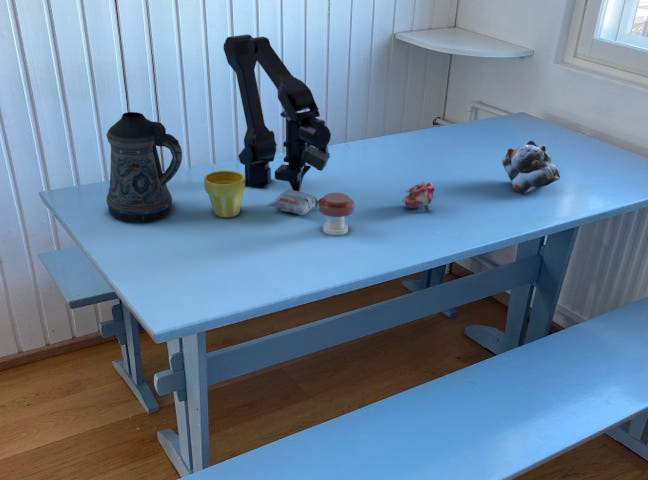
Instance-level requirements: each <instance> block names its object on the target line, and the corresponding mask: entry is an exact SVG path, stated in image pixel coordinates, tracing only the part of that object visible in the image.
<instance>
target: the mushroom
mask: <svg viewBox="0 0 648 480" xmlns="http://www.w3.org/2000/svg"><path fill="white" fill-rule="evenodd" d="M318 200H319V201H318V205H317V209H318V212H319V213H320V214H322V215H323V216H326V222H324V223H323V225H322V231H323V233H325V234H327V235H329V236H343V235H346V234H347V233H348V232H349V225H348V223H346V222H345V217H348V216H350V215H353V213H354V211H355V201H354V200H353V199H352V198H350V196H348V194H345V193H342V192H330V193H326V194H325V195H324V196H322V197H321V198H319V199H318Z"/></svg>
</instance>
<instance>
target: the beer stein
mask: <svg viewBox="0 0 648 480" xmlns="http://www.w3.org/2000/svg"><path fill="white" fill-rule="evenodd" d="M105 135H106V139H107V142H108V143H109V145H110V176H109V177H110V178H109V179H110V180H109V188H108V192H107V195H106V205H107V207H108V214H109V215H110V216H111V217H112V218H113V219H115V220H116V221H120V222H124V223H126V224H127V223H128V224H145V223H151V222H156V221H159V220H163V219H164V218H165V217H166V216H168V215H169V214H170V213H171V211H172V204H173V197H172V194H171V192H170V190H169V188H168V185H167V183H169V182H170V181H171V179H173V177H175V175H176V174H177V173H178V171H179V169H180V167H181V164H182V160H183V150H182V147H181V145H180V142H179V140H178V139H177V138H176V137H175V136H174V135H172V134H169V133H167V129H166V127H165V125H164V124H163V123H162V122H158V121H153V120H149V119H148V118H146V116H145V115H144V113H141V112H136V111H135V112H134V111H127V112H124V113H122V115H121V117H120V119H118V121H117V122H115V123H114V124H113V125H112V126H111V127H110V128H109V129H108V130H107V133H106V134H105ZM157 147H165V148H167V149H168V150H169V151H170V153H171V157H172V158H171V161H170V164H169V165H168V167H167V168H166V170H165V171H164V172H163V167H162V163H161V160H160V156H159V152H158V148H157Z"/></svg>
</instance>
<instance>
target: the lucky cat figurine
mask: <svg viewBox="0 0 648 480" xmlns="http://www.w3.org/2000/svg"><path fill="white" fill-rule="evenodd" d="M501 163H502V166H503V169H504V171H505V172H506V174H507V177H508V178H509V180H510V182H511V184H512V188H513V190H514V191H515V192H517V193H520V194H522V195H524V194H526V193H530V192H532V191H535V190H537V189H539V188H543V187H545V186H547V185H550V184H553V183H554V182H556V181H559V180H560V179H561V173H560V172H561V171H560V169H559V168H558V166H557V165H555V164H554V163H552V159H551V156H550V154H549V152H548V151H547V147H546V144H541V145H539V146H538V145H537V144H536V143H535V141H534V140H529V141H528V142H527V143H526V144H523V145H520V146H519V147H517V148H515V149H513V148H508V149H507V151H506V155H505V156H504V157H503V158H502V160H501Z"/></svg>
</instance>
